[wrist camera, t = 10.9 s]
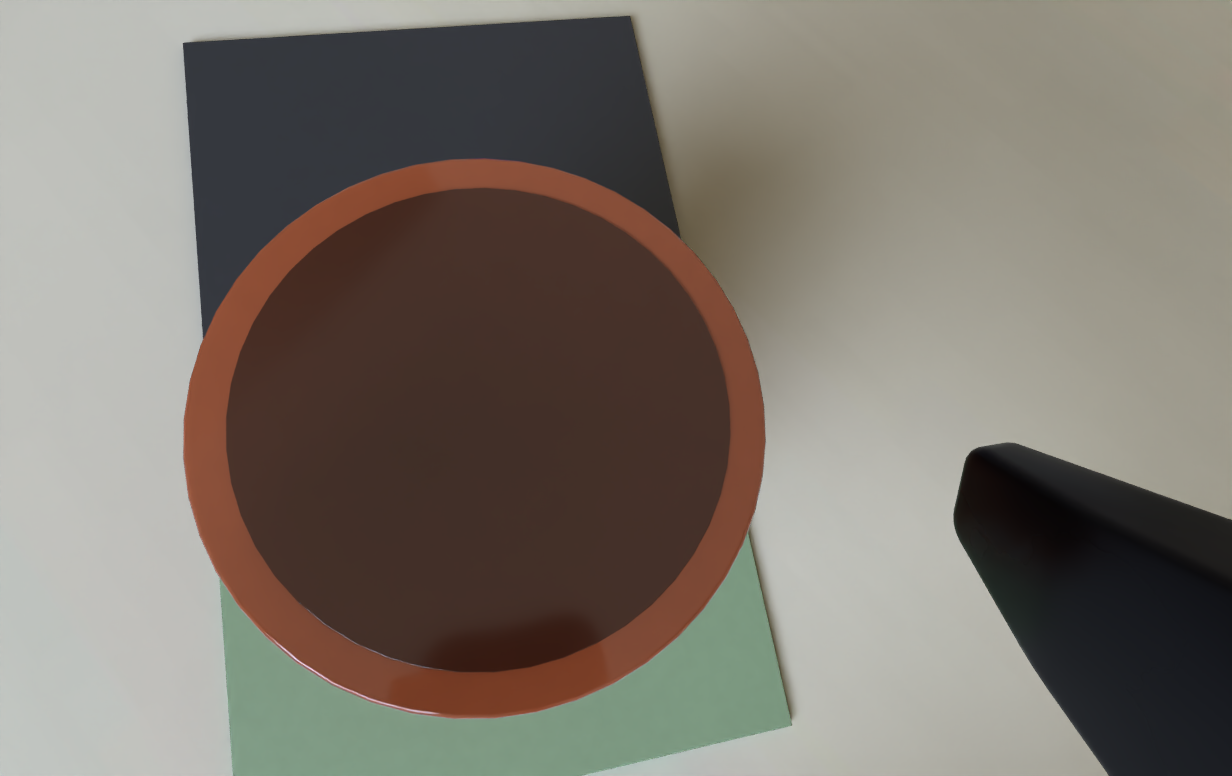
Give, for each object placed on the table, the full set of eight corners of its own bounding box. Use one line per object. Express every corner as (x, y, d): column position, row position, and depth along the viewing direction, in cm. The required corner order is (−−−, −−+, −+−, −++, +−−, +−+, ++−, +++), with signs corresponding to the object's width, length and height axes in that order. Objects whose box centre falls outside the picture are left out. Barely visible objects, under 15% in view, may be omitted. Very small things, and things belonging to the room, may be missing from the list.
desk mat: (789, 724, 20) (792, 725, 20) (241, 854, 18) (238, 857, 18) (629, 19, 25) (630, 15, 25) (185, 47, 23) (182, 42, 23)
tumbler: (655, 633, 20) (829, 648, 10) (363, 694, 19) (199, 789, 8) (603, 365, 22) (702, 132, 11) (331, 404, 21) (163, 182, 10)
